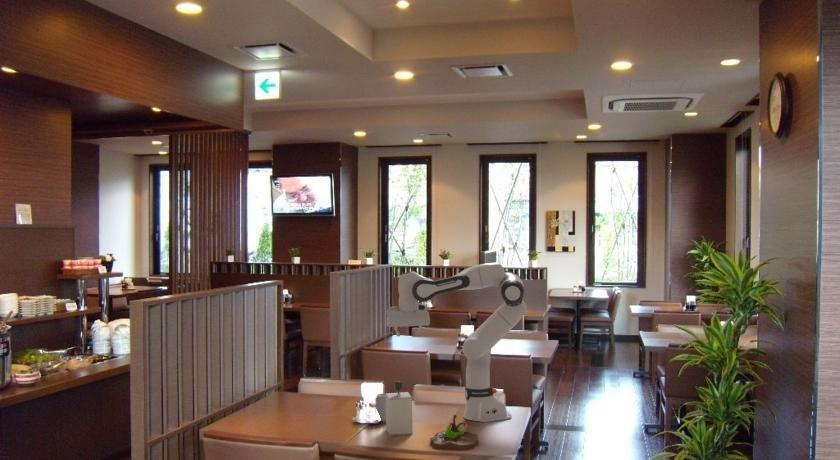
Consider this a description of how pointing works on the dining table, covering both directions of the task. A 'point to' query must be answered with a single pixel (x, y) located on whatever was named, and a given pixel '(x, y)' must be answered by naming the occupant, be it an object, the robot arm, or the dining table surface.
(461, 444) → the plant
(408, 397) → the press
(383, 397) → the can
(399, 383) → the plunger
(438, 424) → the dining table surface
